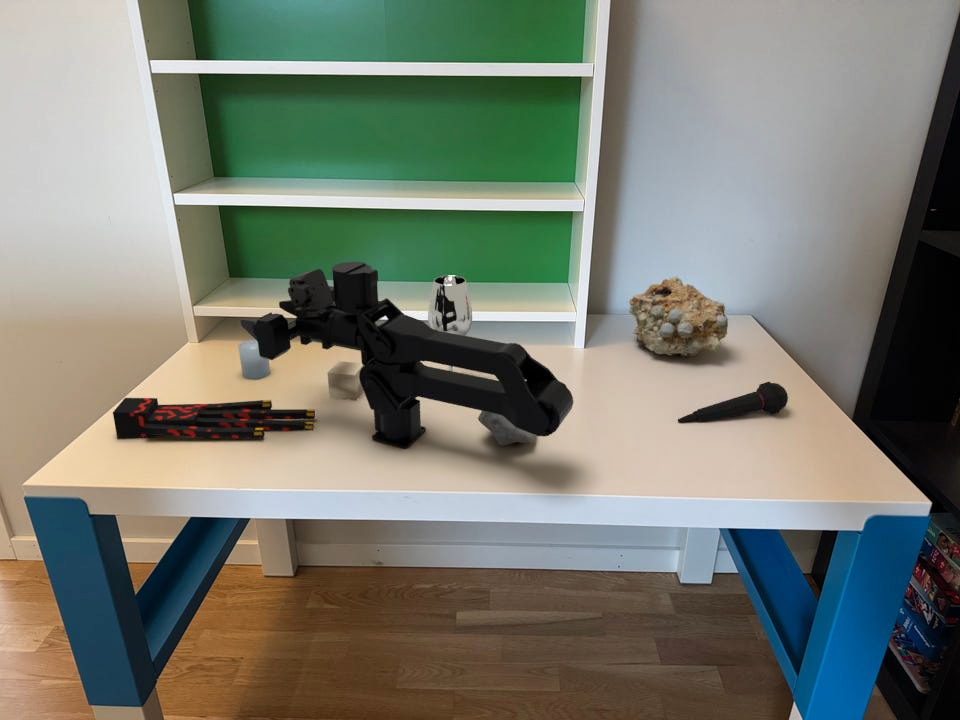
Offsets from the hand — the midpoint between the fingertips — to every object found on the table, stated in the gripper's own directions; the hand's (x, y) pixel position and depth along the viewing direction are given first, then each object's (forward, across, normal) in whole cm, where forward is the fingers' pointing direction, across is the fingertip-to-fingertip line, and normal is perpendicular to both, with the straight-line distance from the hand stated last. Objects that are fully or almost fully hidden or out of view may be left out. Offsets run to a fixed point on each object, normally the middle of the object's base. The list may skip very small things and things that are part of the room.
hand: (261, 313), depth 113 cm
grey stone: (-41, -6, +17) cm, 45 cm away
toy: (+2, +11, +17) cm, 20 cm away
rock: (-58, -55, +18) cm, 82 cm away
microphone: (-72, -31, +18) cm, 81 cm away
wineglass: (-24, -20, +17) cm, 36 cm away
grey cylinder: (+11, -8, +17) cm, 21 cm away
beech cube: (-9, -9, +17) cm, 21 cm away
